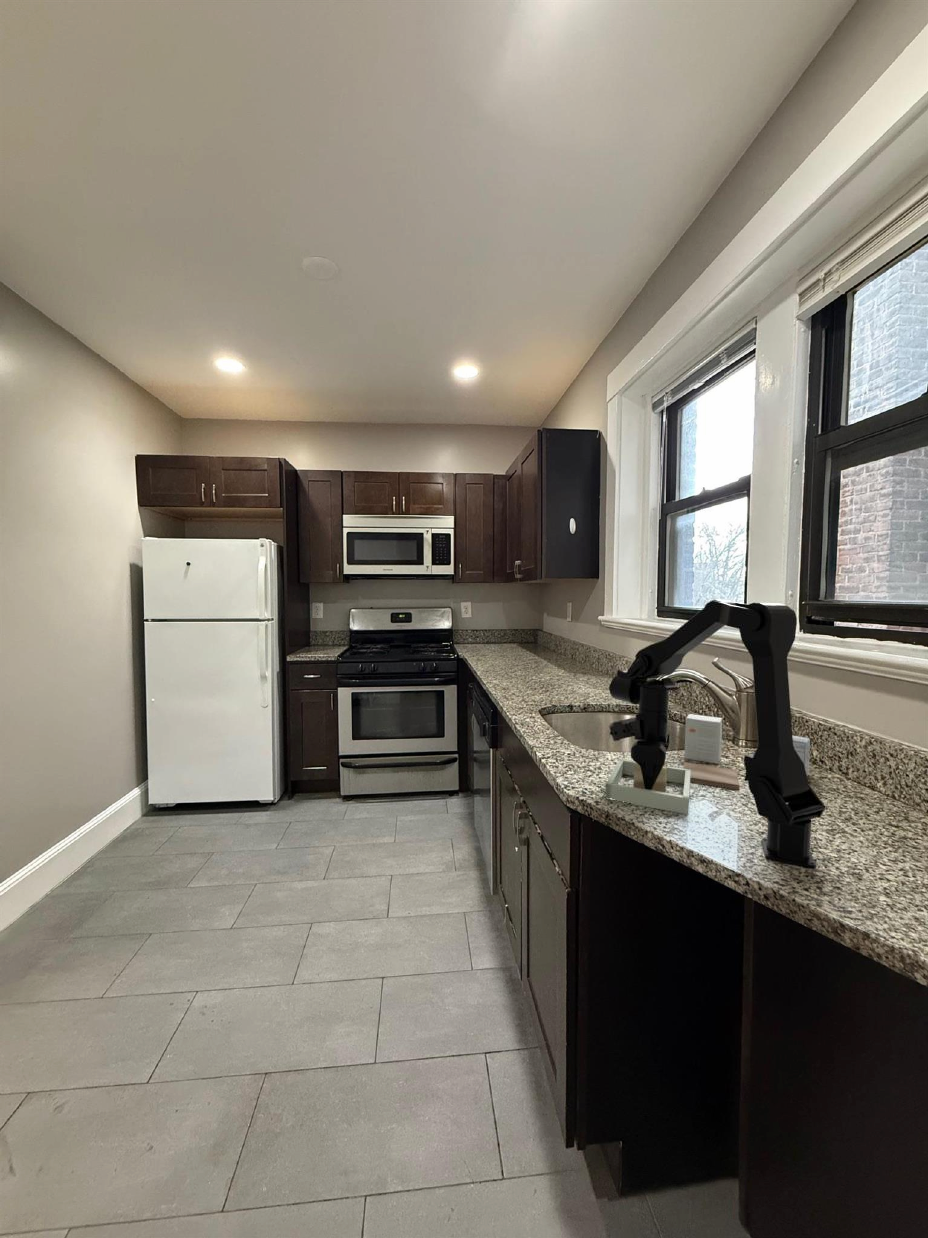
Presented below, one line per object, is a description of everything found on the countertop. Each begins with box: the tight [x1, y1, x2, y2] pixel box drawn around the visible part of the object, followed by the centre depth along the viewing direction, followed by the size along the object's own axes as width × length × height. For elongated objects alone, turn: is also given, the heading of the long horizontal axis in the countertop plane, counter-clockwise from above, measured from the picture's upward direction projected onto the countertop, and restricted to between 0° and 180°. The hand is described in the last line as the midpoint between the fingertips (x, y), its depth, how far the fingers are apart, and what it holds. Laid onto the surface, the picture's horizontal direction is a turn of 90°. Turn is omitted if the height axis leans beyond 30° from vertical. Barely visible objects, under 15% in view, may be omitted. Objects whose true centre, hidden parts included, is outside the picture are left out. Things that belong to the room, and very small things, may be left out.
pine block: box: [633, 761, 668, 793], centre depth 105 cm, size 4×6×6 cm
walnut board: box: [683, 761, 740, 790], centre depth 114 cm, size 11×11×1 cm
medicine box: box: [792, 735, 811, 777], centre depth 118 cm, size 8×4×9 cm, turn 47°
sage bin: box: [605, 758, 691, 815], centre depth 105 cm, size 18×15×3 cm
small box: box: [684, 713, 723, 765], centre depth 127 cm, size 8×6×10 cm
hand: (650, 783), depth 105 cm, fingers open, 9 cm apart
